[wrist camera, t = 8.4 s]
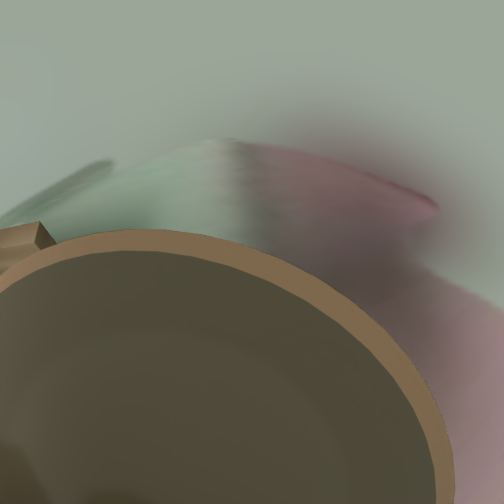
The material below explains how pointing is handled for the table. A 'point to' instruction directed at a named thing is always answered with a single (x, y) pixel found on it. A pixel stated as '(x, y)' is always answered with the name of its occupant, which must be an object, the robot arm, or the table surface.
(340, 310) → the terracotta pot
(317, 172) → the table surface
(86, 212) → the table surface
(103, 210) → the table surface
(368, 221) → the table surface
